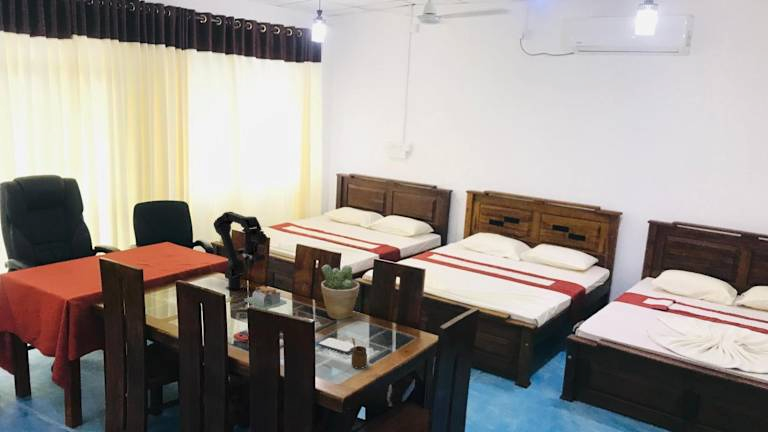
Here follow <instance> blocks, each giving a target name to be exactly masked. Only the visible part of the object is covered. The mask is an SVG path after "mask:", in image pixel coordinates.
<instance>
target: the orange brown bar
mask: <svg viewBox="0 0 768 432" xmlns="http://www.w3.org/2000/svg"><path fill="white" fill-rule="evenodd" d="M263 286H264V285H262V286H257V287H258V290H263V291H266V290H267V291H268V292H271V294H273V293H276V291H277V289H276V288H270V287H266V286H265V287H263Z"/></svg>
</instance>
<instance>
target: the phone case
mask: <svg viewBox="0 0 768 432" xmlns="http://www.w3.org/2000/svg"><path fill="white" fill-rule="evenodd" d="M318 345H320V346H322V347H321V348H323V347H325V348H324V349H326V348H328V349H327V350H329V349H331V350H330V351H332V350H334V351H333V352H335V351H337V352H336V353H339V352H341V353H340V354H342V353H345V354H348V355H350V354H352V353H353V348H354V345H353V342H348V341H345V340H341V339H337V338H334V337H327V338H325V339H322V340H321V341H319V342H318V343H317V346H318ZM320 346H319V347H320ZM356 346H359V344H356V345H355V347H356ZM351 352H352V353H351ZM349 353H350V354H349ZM345 354H344V355H345Z"/></svg>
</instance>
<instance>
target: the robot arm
mask: <svg viewBox="0 0 768 432" xmlns="http://www.w3.org/2000/svg"><path fill="white" fill-rule="evenodd" d="M233 223H236V224H239V225H240V227H241V228H243V229H242V230H241V232H242V233H244V242H242V245H243V246H244V247H240V248H236V249H235V246H234V245H235V244H234V242H233V239H232V235H231V230H232V224H233ZM213 228H214V230H215V232H216V233H217V234H218V235H219V236H220V238H221V241H222V245H223V247H224V250H225V254H226V257H227V259H228V260H227V261H228V263H227V267H226V269H227V270H226V271H225V273H224V277H225V279H227V280H228V286H226V287H225V289H227V288H228V290H230V289H231V290H230V291H232V290H234V291H237V289H238V290H241V288H242V289H243V288H244V287H243V286H241V282H242V281H241V278H243V277H244V276H245V271H246V267H247V269H248V271H250V272H251V271H252V270H253V267H254V264H255V262H260V261H264V260H266V259H267V255H266V254H265V252H266V247H265V246H261V245H265V244H266V243H267V241H268V236H267V234H266V233H265V231H264V230H263V229H262V226H261V224H260V222H259V220H258V219H257V217H256V216H244V215H242V214H238V213H235V212H233V211H225V212H223V213H222V214H221V215H220V216H218V217H217V218H216V219H215V220H214V222H213ZM241 254H242V257H241V259H239V258H238V256H240V255H241ZM244 263H245V264H244ZM245 266H246V267H245Z"/></svg>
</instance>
